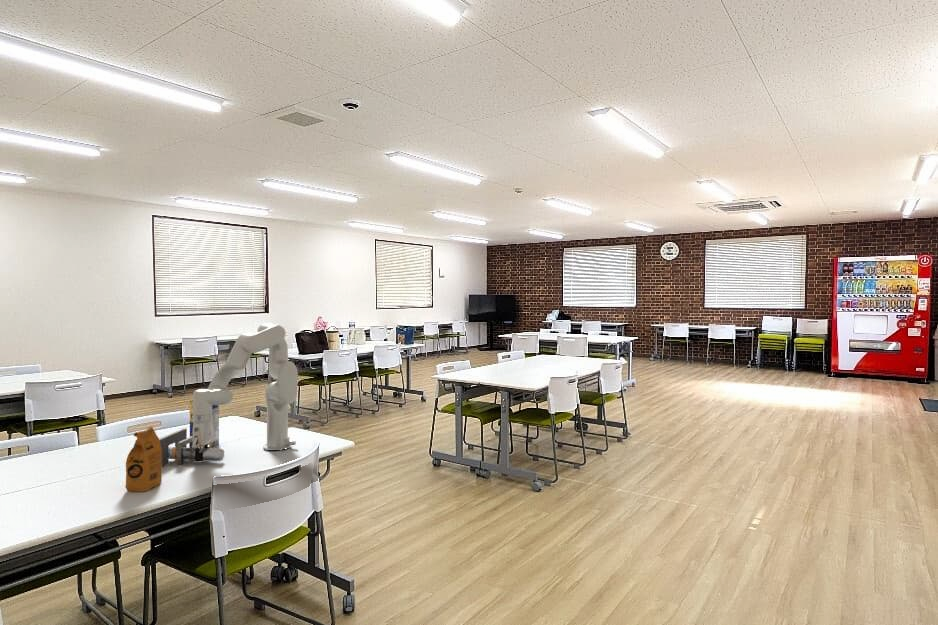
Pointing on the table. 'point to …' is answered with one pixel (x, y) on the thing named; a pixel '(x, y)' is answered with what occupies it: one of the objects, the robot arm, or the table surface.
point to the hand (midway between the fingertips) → (202, 458)
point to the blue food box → (215, 423)
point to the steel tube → (190, 454)
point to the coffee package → (144, 462)
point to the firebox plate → (169, 440)
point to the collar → (180, 449)
